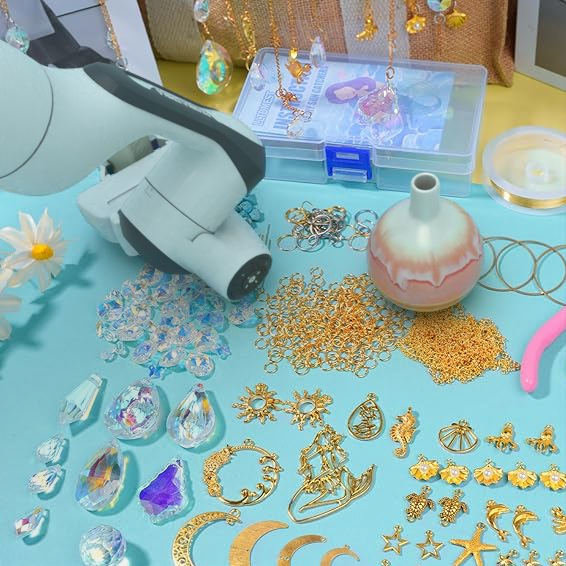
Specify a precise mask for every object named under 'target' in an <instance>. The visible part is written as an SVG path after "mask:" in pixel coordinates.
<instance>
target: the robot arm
mask: <svg viewBox="0 0 566 566" xmlns="http://www.w3.org/2000/svg"><path fill="white" fill-rule="evenodd" d="M144 136H149V138H150V141H151V144H152V147H153V150H154V152H153V153H151V154H149V155H148V156H146V157H144V158H142V159H141V160H139V161H137V162H135V163H133V164H132V165H130V166H128V167H126V168H125V169H123V170H121V171H119V172H118V173H116V174H114V170H113V169H112V165H111V163H110V162H109V161H107V160H108V159H109V158H110V157H111V156H113V155H114V154H115V153H117V152H118V151H120V150H121V149H122V148H124V147H125V146H127V145H128V144H130V143H132V142H133V141H135V140H137V139H139V138H142V137H144ZM266 153H267V152H266V146H265V145H264V143H263V142H262V140H261V139H260V138H259V136H258V135H257V133H256V132H255V131H254V130H253V129H252V128H251V127H250V126H249V125H248V124H246V123H245V122H244V121H242V120H241V119H240V118H237V117H236V116H234V115H232V114H230V113H227V112H224V111H221V110H219V109H216V108H214V107H210V106H207V105H204V104H201V103H198V102H196V101H194V100H192V99H190V98H188V97H185V96H184V95H182V94H179V93H177V92H175V91H173V90H171V89H168V88H167V87H164V86H162V85H160V84H159V83H156V82H154V81H151V80H149V79H147V78H145V77H143V76H141V75H138V74H136V73H134V72H132V71H129V70H127V69H124V68H121V67H119V66H116V65H113V64H110V63H106V62H101V61H95V62H93V63H89V64H86V65H84V66H83V67H77V68H76V67H73V68H58V67H50V66H46V65H43V64H41V63H39V62H38V61H37V60H35V59H34V58H32V57H30V56H29V55H27V54H25V53H24V52H22V51H21V50H19V49H18V48H16V47H14V46H12V44H9V43H8V42H6V41H4V40H2V39H1V38H0V190H1V191H2V192H6V193H8V194H9V193H10V194H13V195H18V196H24V197H45V196H50V195H55V194H58V193H60V192H64V191H65V190H68V189H70V188H72V187H74V186H75V185H78V184H79V183H80V182H82V181H84V180H85V178H87V177H88V176H90V175H91V174H92V173H93V172H95V170H98V172H99V180H100V182H97V183H96V184H95V185H92V186H91V187H89V188H87V189H86V190H84V191H82V192H80V193H79V194H78V195H77V197H76V202H75V204H76V206H77V208H78V211H79V213H80V215H81V216H82V218H83V219H84V221H85V222H86V223H87V224H88V225H89V226H90V227H91V228H92V229H93V230H94V232H96V233H97V234H98V235H100V236H101V237H102V238H103V239H105V240H106V241H108V242H111V243H113V244H119V245H120V247H121V248H122V250H123V251H124V253H125V254H126V255H127V256H128V257H136V256H140V257H141V258H142V259H143V260H144V261H145V262H146V263H147V264H149V265H150V266H151V267H152V268H154V269H156V270H157V271H158V272H161V273H163V274H167V275H175V276H188V275H189V276H191V275H193V274H195V275H196V276H197V277H198V278H199V279H200V280H201V281H203V282H204V283H205V285H207V286H208V287H210V288H211V289H212V290H213V291H215V292H216V293H217V294H218V295H220V296H221V297H223V298H225V300H228V301H238V300H241V299H244V298H245V297H247V296H249V295H250V294H252V293H253V292H255V291H256V289H257V288H258V287H259V286H261V284H262V283H263V281H264V280H265V279H266V277H267V276H268V275H269V273H270V270H271V268H272V266H273V255H272V253H271V251H270V249H269V248H268V247H267V245H266V244H265V242H264V241H263V239H262V238H261V236H260V235H259V234H258V233H257V231H256V230H255V229H254V228H253V227H252V226H251V225H250V224H249V223H248V221H247V220H245V218H244V217H243V216H242V215H241V214H240V213H238V212H237V211H236V210H235V208H237V206H238V205H239V204H240V203H241V201H242V200H243V199H244V198H245V197H246V196H248V195H249V194H250V193H251V192H252V191H253V190H254V189H255V188H256V186H258V185H259V184H260V182H262V181H263V179H265V177H266V171H267V154H266ZM113 174H114V175H113Z"/></svg>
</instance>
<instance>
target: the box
mask: <svg viewBox="0 0 566 566" xmlns="http://www.w3.org/2000/svg"><path fill="white" fill-rule="evenodd" d="M153 152H155V151H154V150H153V147H152V144H151V141H150V138H149V136H144V137H142V138H139V139H137V140H135V141H133V142H132V143H130V144H128V145H127V146H125V147H124V148H122V149H121V150H120V151H118V152H117V153H115V154H114V155H113V156H111V157H110V158H109V159H108V160H107V161H109V162H110V163H111V165H112V169H113V170H114V174H116V173H118V172H119V171H121V170H123V169H125V168H126V167H128V166H130V165H132V164H133V163H135V162H137V161H139V160H141V159H142V158H144V157H146V156H148V155H149V154H151V153H153ZM114 174H112V175H114Z"/></svg>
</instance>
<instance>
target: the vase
mask: <svg viewBox="0 0 566 566" xmlns="http://www.w3.org/2000/svg"><path fill="white" fill-rule="evenodd" d="M409 189H410V191H409V192H410V194H409V196H410V197H406V198H404V199H400V200H398V201H397V202H395V203H394V204H393V205H391V206H389V207H388V208H387V209H386V210H385V211H384V212H383V213H381V215H380V216H379V217H378V218H377V220H376V222H375V223H374V224H373V226H372V229H371V231H370V234H369V236H368V240H367V244H366V249H365V250H366V251H365V253H366V255H365V262H366V267H367V272H368V275H369V277H370V279H371V282H372V284H373V285H374V287H375V288H376V290H377V291H378V292H379V293H380V294H381V295H382V296H383V297H384V298H385V299H386V300H388V302H390V303H392V304H394V305H396V306H397V307H399V308H402V309H404V310H408V311H412V312H419V313H431V312H437V311H441V310H445V309H447V308H451V307H452V306H455V305H456V304H457V303H460V302H461V301H463V300H464V298H466V297H468V295H470V293H471V292H472V291H473V290H474V289H475V287H476V285H477V284H478V282H479V280H480V278H481V276H482V272H483V269H484V264H485V246H484V240H483V236H482V233H481V231H480V229H479V227H478V225H477V222H476V221H475V220H474V218H473V216H471V215H470V213H469V212H468V211H467V210H466V209H465V208H463V207H462V206H461V205H459V204H457V202H455V201H453V200H450V199H449V198H446V197H442V196H441V182H440V179H439V177H438V176H437V175H436V174H434V173H432V172H427V171H426V172H425V171H424V172H419V173H417V174H415V175H414V176H413V177H412V178H411V180H410V187H409Z"/></svg>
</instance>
